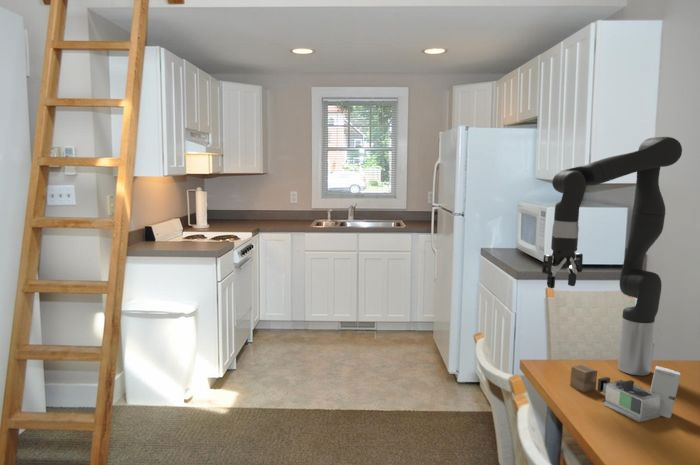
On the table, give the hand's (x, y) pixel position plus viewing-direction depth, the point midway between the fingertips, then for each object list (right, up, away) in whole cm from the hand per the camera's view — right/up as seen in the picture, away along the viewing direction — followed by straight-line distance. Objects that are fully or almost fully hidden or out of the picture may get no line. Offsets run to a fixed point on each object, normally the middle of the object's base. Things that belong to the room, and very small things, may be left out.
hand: (561, 286), depth 170 cm
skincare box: (+17, -32, -23) cm, 43 cm away
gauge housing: (+10, -31, -22) cm, 40 cm away
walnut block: (+3, -30, -8) cm, 31 cm away
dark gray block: (+8, -25, -25) cm, 37 cm away
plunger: (+7, -29, -19) cm, 35 cm away
